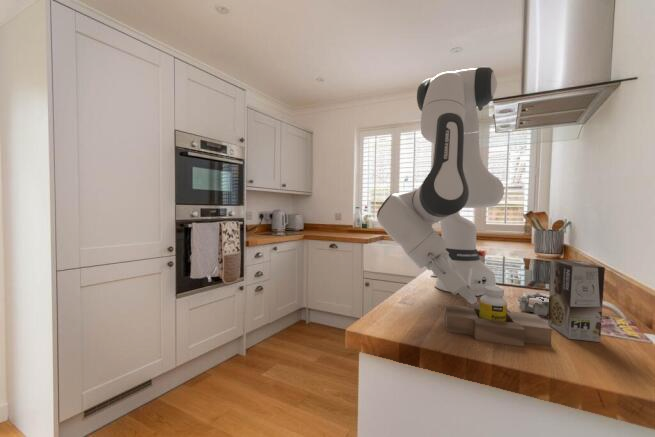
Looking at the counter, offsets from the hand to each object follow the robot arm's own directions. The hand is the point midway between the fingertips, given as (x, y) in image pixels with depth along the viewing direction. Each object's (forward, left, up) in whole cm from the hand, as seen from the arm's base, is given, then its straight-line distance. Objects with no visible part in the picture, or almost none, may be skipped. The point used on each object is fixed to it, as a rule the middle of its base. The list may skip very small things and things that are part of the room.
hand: (471, 295), depth 71 cm
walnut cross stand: (-4, +3, -7) cm, 9 cm away
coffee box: (-21, +8, -8) cm, 24 cm away
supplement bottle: (-4, +3, -8) cm, 9 cm away
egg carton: (-29, -6, -8) cm, 31 cm away
